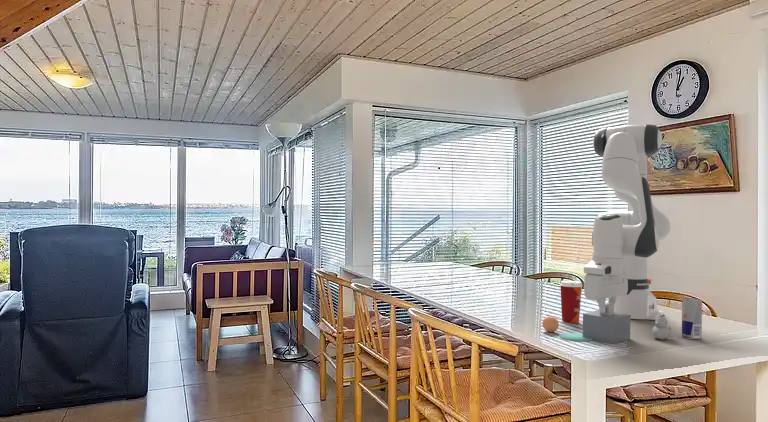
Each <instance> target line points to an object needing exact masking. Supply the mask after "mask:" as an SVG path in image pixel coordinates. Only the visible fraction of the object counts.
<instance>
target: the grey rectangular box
mask: <svg viewBox="0 0 768 422" xmlns="http://www.w3.org/2000/svg"><path fill="white" fill-rule="evenodd" d="M605 305H606V307H607V312H606V313H600V312H599V309H597V310H593V311H589V312H584V313H583V314H582V334H583V337H587V338H592V339H594V340H593V341H599V342H604V343H609V344H613V345H614V344H615V345H616V344H618V343H621V342H625V341H628V340H630V339H631V324H632V323H631V320H632V319H631V315H627V314H621V313H615V312H614V304H610V303H608V302H605Z"/></svg>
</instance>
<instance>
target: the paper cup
mask: <svg viewBox="0 0 768 422" xmlns="http://www.w3.org/2000/svg"><path fill="white" fill-rule="evenodd" d="M559 286H560V303H561V304H560V305H561V320H562V322H563V323H568V324H578V323H579V322H580V315H581V314H580V313H581V302H582V301H581V300H582V288H583V284H582V282H581V281H578V280H561V281H560V283H559Z"/></svg>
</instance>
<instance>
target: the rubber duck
mask: <svg viewBox="0 0 768 422" xmlns="http://www.w3.org/2000/svg"><path fill="white" fill-rule="evenodd" d="M654 321H655V322H654V323H655V324H654V325H655V326H652V327H653V328H651V333H652V336H653V338H655V339H656V340H661V341H664V340H667V339H669V338H671V337H672V331H671V330H672V326H670V325H668V320H667V319H666V318H665V316H664V315H662V316H661V314H660V316H658V318H657V319H656V320H654Z"/></svg>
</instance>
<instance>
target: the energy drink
mask: <svg viewBox="0 0 768 422" xmlns="http://www.w3.org/2000/svg"><path fill="white" fill-rule="evenodd" d="M702 327H703V301H702V299H700V298H696V297H694V298H693V297H683V299H682V301H681V337H682V338H683V337H685V338H684V339H686V338H690V339H689V340H692V339H700V340H701V339H702V333H703V331H702V330H703V328H702Z"/></svg>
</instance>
